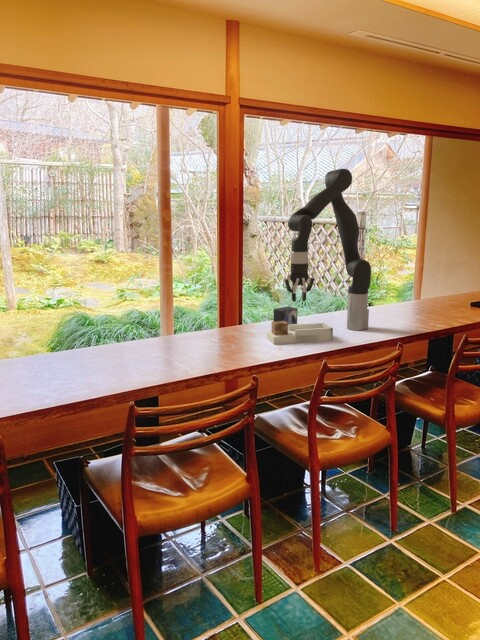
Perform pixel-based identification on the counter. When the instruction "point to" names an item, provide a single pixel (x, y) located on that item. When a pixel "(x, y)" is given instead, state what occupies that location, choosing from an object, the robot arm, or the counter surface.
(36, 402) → the counter surface
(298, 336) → the channel
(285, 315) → the small box
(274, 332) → the block
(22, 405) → the counter surface
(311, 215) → the robot arm
